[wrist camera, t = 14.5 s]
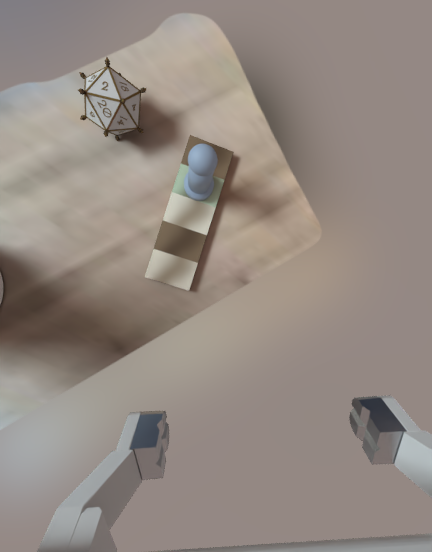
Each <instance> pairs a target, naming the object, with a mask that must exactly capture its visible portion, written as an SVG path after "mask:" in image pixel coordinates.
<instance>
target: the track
mask: <svg viewBox="0 0 432 552" xmlns="http://www.w3.org/2000/svg"><path fill="white" fill-rule="evenodd" d="M198 144H207V145H209V146H211V147H212V148H213V149H214V150H215V152H216V154H217V159H218V162H217V166H216V169H215V170H214V174H213V180H214V188H213V191H212V193H211V195H210V196H209V197H208V198H207V199H205V200H203V201H195V200H193V199H191V198H190V197H189V196H188V195H187V194H186V192H185V189H184V179H185V176H186V174H187V173H188V170H189V164H188V155H189V152H190V151H191V149H192V148H193V147H194V146H196V145H198ZM232 155H233V152H232V151H229V150H227V149H224V148H222V147H219V146H217V145H214V144H212V143H209V142H206V141H204V140H201V139H199V138H196V137H194V136H191V135H190V137H189V140H188V143H187V146H186V149H185V153H184V156H183V159H182V162H181V165H180V168H179V171H178V174H177V177H176V181H175V184H174V187H173V190H172V193H171V196H170V199H169V202H168V206H167V209H166V212H165V215H164V218H163V221H162V224H161V227H160V231H159V234H158V237H157V240H156V243H155V246H154V249H153V252H152V256H151V259H150V262H149V265H148V268H147V271H146V274H145V277H146V278H149V279H152V280H156V281H159V282H162V283H165V284H169V285H172V286H175V287H178V288H182V289H185V290H188V291H189V289H190V286H191V283H192V280H193V277H194V274H195V271H196V267H197V264H198V261H199V258H200V255H201V252H202V249H203V246H204V242H205V239H206V236H207V233H208V230H209V227H210V224H211V221H212V218H213V214H214V211H215V208H216V205H217V202H218V199H219V196H220V193H221V189H222V186H223V183H224V180H225V177H226V174H227V171H228V168H229V165H230V161H231V158H232Z"/></svg>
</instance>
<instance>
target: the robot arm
mask: <svg viewBox="0 0 432 552" xmlns="http://www.w3.org/2000/svg"><path fill="white" fill-rule="evenodd" d="M2 297H3V280H2V276H1V273H0V305H1V302H2ZM352 406H353V407H354V409H353V410H352V411H351V412H350V424H351V427H352V429H353V432H354V433H355V435H356V437H357V438H359V439H360V440H361V441H363V446H362V448H363V449H364V451H365V453H366V455H367V456H368V458H369V460H370V462H371V464H394V466H396V467H397V468H398V469H399V470H400V471H401V472H402V473H404V474H405V475H406V476H407V477H408V478H409V479H410V480H412V481H413V482H414V483H415V484H416V485H417V486H419V487H420V488H421V489H422V490H423V491H424V492H425V493H427V494H428V495H429V496H430V497H431V498H432V434H430V433H428V432H427V431H421V430H420V429H419V427H418V426H417V425H416V424H415V423H414V421H413V420H412V419H411V418H410V417H409V416H408V414H407V413H406V412H405V411H404V410H403V408H402V407H401V406H400V405H399V404H398V402H397V401H396V400H395V399H394V398H393V397H392V396H390V395H389V396H372V397H359V398H354V399H353V400H352ZM166 417H167V416H166V412H165V411H149V412H131V413H130V414H129V415H128V417H127V420H126V423H125V425H124V428H123V431H122V434H121V437H120V440H119V442H118V445H117V448H116V451H112V452H111V453H110V454H109V455H108V456H107V457H106V458H105V459H104V460H103V461H102V462H101V463H100V464H99V465H98V466H97V467H96V468H95V469H94V471H92V472H91V474H90V475H89V476H88V477H87V478H86V479H85V480H84V481H83V482H82V483H81V484H80V485H79V486H78V487H77V488H76V489H75V490H74V491H73V492H72V493H71V495H69V497H67V499H66V500H65V501H64V502H63V503H62V504H61V505H60V506H59V507H58V508H57V510H56V512H55V514H54V516H53V518H52V521H51V523H50V525H49V527H48V529H47V531H46V533H45V536H44V538H43V540H42V542H41V544H40V546H39V548H38V551H37V552H117V548H116V546H115V543H114V541H113V538H112V536H111V534H110V531H109V530H110V529H111V527H112V526H113V524H114V523H115V521H116V520H117V518H118V517H119V515H120V514H121V512H122V511H123V509H124V508H125V506H126V505H127V503H128V502H129V500H130V499H131V497H132V496H133V494H134V493H135V491H136V489H137V488H138V487H139V485H140V484H141V482H142V480H148V479H158V478H163V475H164V469H165V463H166V458H165V452H166V450H167V449H168V444H169V426H168V424H167V423H166ZM151 552H152V551H151ZM153 552H432V534H416V535H400V536H385V537H369V538H355V539H354V538H353V539H338V540H324V541H306V542H291V543H275V544H261V545H246V546H245V545H244V546H231V547H230V546H229V547H215V548H214V547H213V548H198V549H183V550H167V551H153Z"/></svg>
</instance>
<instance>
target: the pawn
mask: <svg viewBox="0 0 432 552" xmlns="http://www.w3.org/2000/svg"><path fill="white" fill-rule="evenodd" d="M217 162H218V159H217V154H216V152H215V150H214V149H213V148H212V147H211V146H209V145H207V144H198V145H196V146H194V147H193V148H192V149H191V151H190V152H189V155H188V164H189V170H188V173H187V174H186V176H185V179H184V189H185V192H186V194H187V195H188V196H189V197H190V198H191V199H193V200H195V201H203V200H205V199H207V198H208V197H209V196H210V195H211V193H212V191H213V188H214V180H213V174H214V170H215V169H216V166H217Z"/></svg>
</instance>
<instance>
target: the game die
mask: <svg viewBox="0 0 432 552" xmlns="http://www.w3.org/2000/svg"><path fill="white" fill-rule="evenodd" d="M105 62H106V63H105V64H106V67H104V68H103V69H101V70H99V71H97V72H95V73H93V74H91V75H89V76H88V77H86V76H85V75H84V73H80V72H79V73H80V75H81V77H82V78H83V79H85V88H84V90H83V89H81V88H80V89H79V90H78V91H79V92H80V94H82V95H83V94H84V99H85V115H83V116H81V118H80V119H81V120H85V119H86V118H88V119H89V120H91V121H92V122H93V123H95V124H96V125H98V126H99V127H101V128H102V129H103V130H105V131H104V133H103V134H104V135H105V137H106V136H108V132H109V133H111V134H114V135H116V136H115V138H116V140H117V141H118V140H119V136H118V135H121V134H124V133H127V132H130V131H133V130H136V129H138V131H139V132H140V133H143V130H142V129H141V128H139V117H140V101H141V93H143V92H145V91H146V88H141V90H139V89H138V88H136V87H135V86H134V85H133V84H131V83H130V82H129V81H128V80H126V79H125V78H124V77H122V76H121V74H120V73H117V72H116V71H115V70H113V69H112V68H111V67H110V66H109V65H110V63H109V62H110V61H109V59H108V58H106V60H105Z"/></svg>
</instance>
